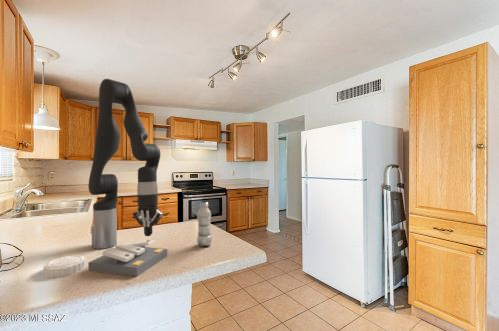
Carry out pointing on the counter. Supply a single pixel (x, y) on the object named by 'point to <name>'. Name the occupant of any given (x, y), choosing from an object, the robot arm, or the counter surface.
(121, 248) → the plate
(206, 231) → the plastic bottle
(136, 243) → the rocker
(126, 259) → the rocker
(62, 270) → the mooncake
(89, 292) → the counter surface
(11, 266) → the counter surface
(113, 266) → the switch console
